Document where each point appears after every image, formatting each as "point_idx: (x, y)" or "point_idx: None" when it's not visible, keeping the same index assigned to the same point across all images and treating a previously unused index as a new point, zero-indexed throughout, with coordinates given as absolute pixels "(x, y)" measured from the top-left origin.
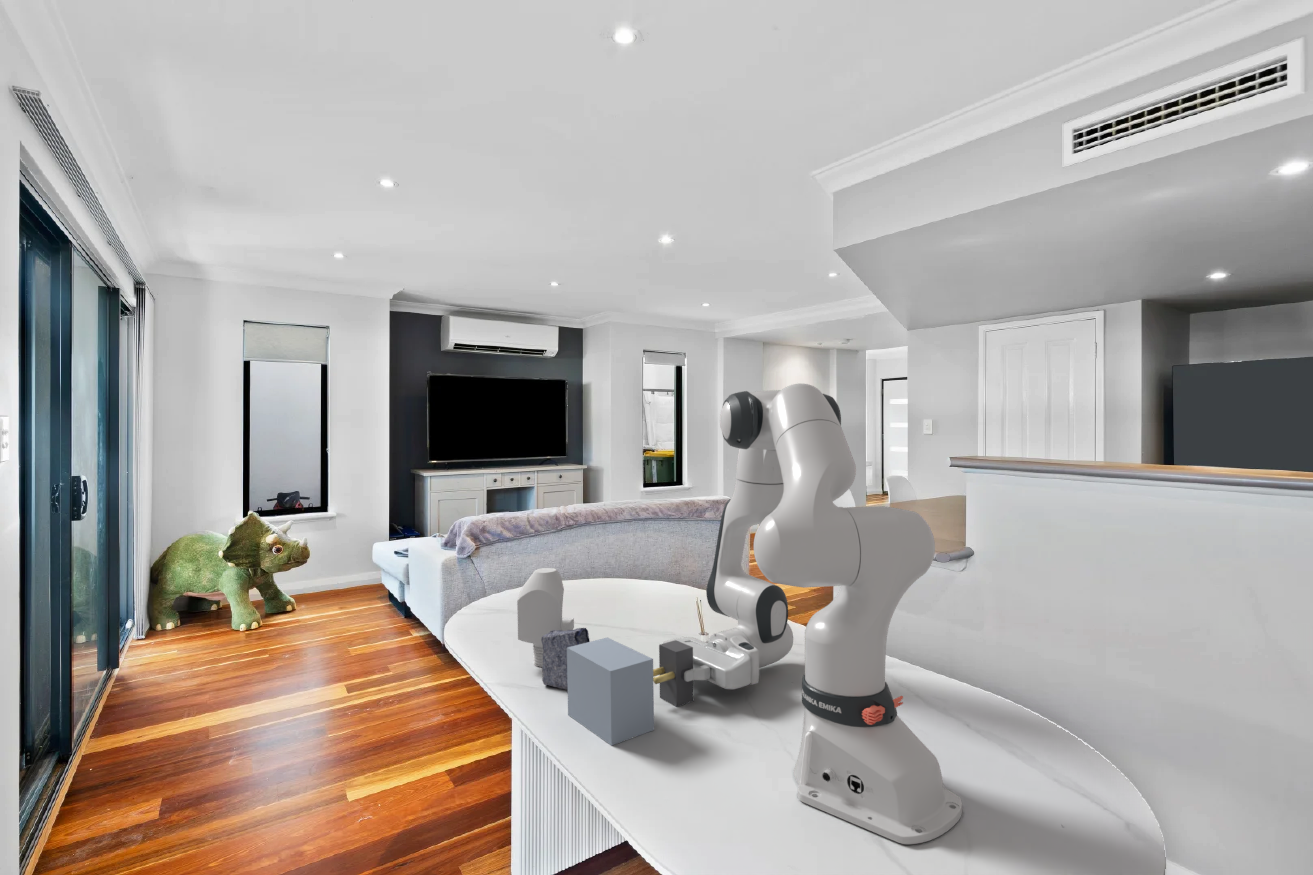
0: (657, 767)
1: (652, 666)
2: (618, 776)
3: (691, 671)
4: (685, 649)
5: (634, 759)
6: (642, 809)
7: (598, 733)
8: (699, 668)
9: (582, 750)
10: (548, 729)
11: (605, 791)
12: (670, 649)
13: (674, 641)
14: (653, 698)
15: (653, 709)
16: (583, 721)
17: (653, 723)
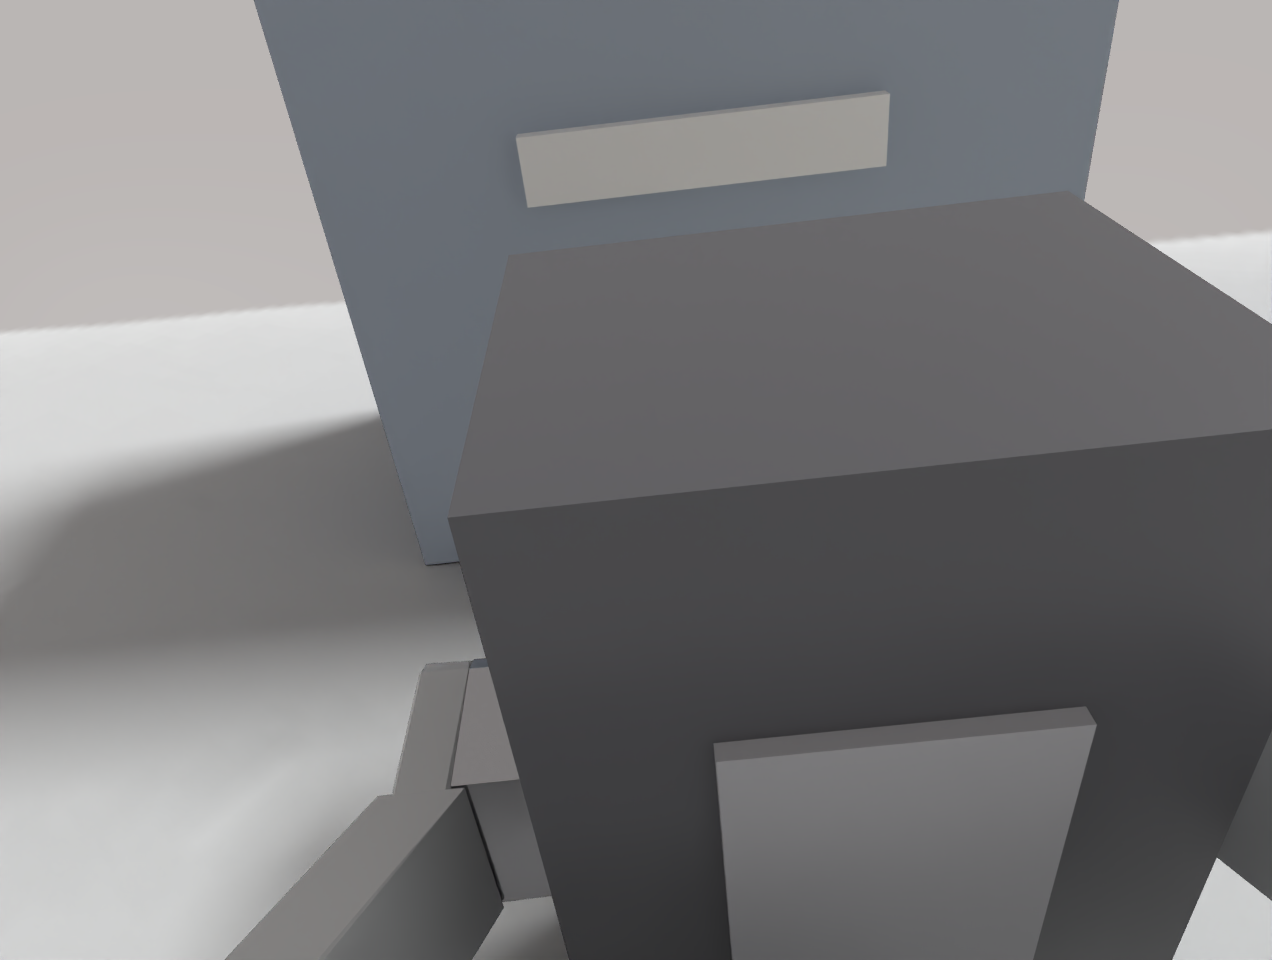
0: (138, 458)
1: (276, 63)
2: (253, 363)
3: (405, 756)
4: (488, 376)
5: (284, 420)
6: (41, 365)
7: None
8: (323, 924)
9: None
10: None
11: (230, 327)
12: (696, 239)
13: (1252, 370)
14: (363, 359)
15: (387, 436)
16: None
17: (413, 523)
